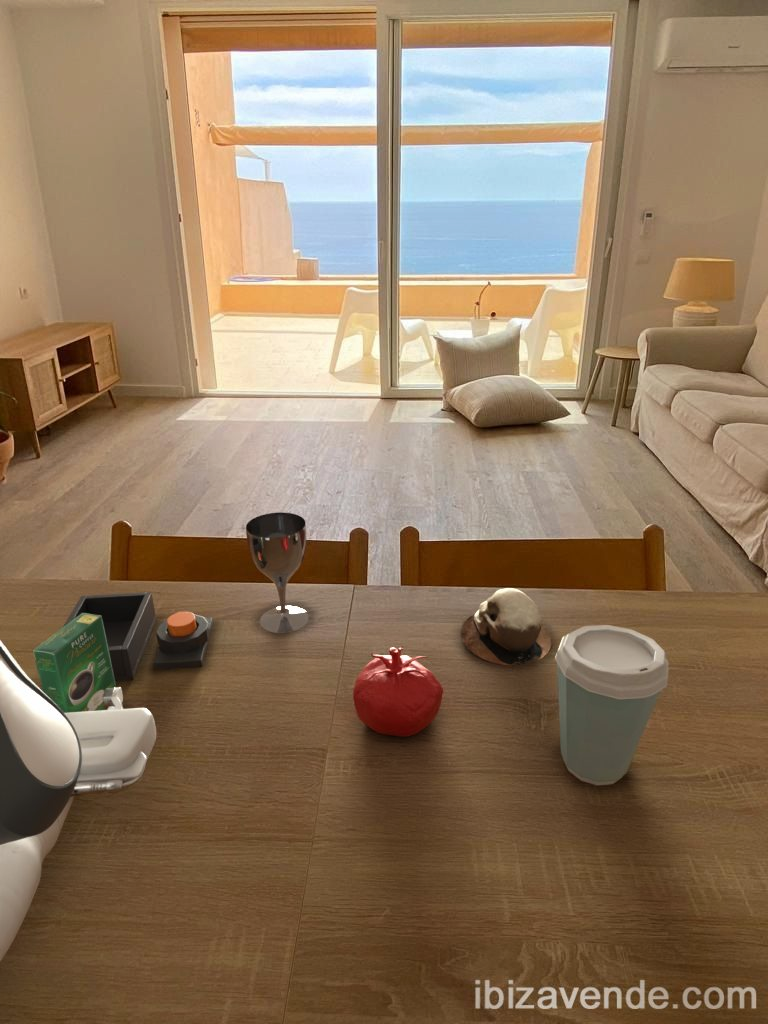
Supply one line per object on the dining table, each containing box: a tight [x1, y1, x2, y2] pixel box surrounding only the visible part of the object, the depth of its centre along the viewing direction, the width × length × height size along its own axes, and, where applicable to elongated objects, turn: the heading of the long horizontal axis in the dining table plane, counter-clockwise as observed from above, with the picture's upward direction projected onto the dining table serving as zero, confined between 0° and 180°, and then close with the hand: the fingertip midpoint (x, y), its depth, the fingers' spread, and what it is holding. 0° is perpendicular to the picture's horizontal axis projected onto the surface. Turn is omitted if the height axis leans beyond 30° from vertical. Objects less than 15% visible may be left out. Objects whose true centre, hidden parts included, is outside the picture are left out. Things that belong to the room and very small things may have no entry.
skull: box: [460, 587, 552, 667], centre depth 93 cm, size 12×10×10 cm
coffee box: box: [32, 613, 117, 713], centre depth 76 cm, size 8×3×13 cm, turn 163°
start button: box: [166, 611, 197, 637], centre depth 92 cm, size 4×4×2 cm
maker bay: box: [61, 591, 157, 682], centre depth 92 cm, size 10×14×5 cm
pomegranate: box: [352, 646, 444, 737], centre depth 78 cm, size 10×10×9 cm
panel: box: [153, 614, 214, 671], centre depth 93 cm, size 6×10×3 cm, turn 5°
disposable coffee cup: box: [554, 624, 670, 786], centre depth 70 cm, size 11×11×15 cm
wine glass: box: [245, 511, 309, 634], centre depth 96 cm, size 8×8×15 cm
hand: (69, 695), depth 74 cm, fingers open, 8 cm apart
